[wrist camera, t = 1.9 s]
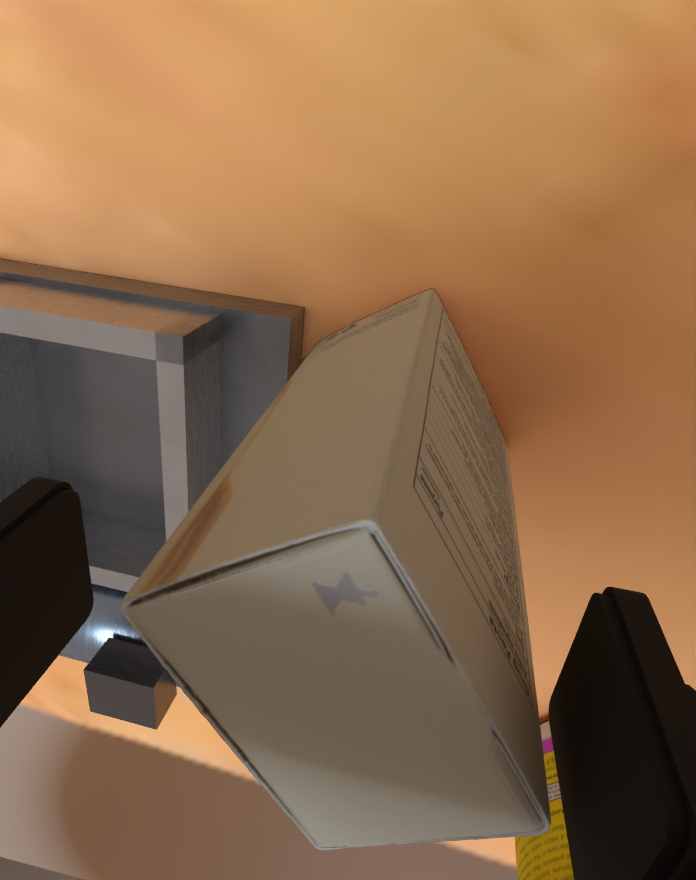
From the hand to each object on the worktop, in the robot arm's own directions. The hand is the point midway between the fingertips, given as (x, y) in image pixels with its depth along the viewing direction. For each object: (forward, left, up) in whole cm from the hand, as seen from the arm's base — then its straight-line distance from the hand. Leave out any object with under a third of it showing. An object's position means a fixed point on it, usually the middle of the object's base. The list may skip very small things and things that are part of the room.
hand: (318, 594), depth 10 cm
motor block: (+9, +4, -10) cm, 14 cm away
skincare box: (-1, 0, -10) cm, 10 cm away
